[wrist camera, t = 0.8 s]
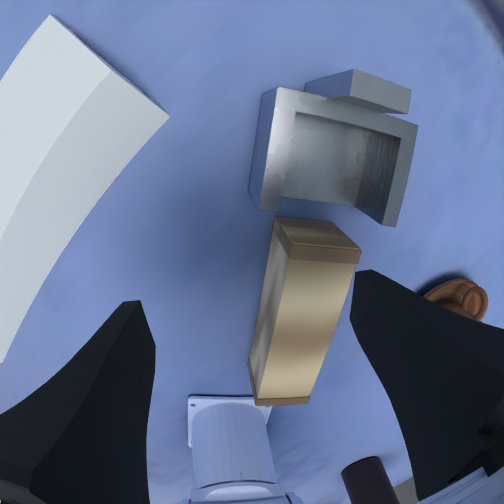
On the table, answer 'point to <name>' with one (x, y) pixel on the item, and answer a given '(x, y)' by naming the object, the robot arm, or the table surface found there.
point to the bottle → (368, 483)
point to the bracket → (335, 145)
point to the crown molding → (58, 155)
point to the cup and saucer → (460, 298)
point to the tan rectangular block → (299, 308)
